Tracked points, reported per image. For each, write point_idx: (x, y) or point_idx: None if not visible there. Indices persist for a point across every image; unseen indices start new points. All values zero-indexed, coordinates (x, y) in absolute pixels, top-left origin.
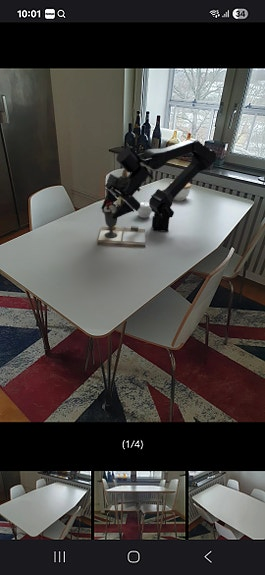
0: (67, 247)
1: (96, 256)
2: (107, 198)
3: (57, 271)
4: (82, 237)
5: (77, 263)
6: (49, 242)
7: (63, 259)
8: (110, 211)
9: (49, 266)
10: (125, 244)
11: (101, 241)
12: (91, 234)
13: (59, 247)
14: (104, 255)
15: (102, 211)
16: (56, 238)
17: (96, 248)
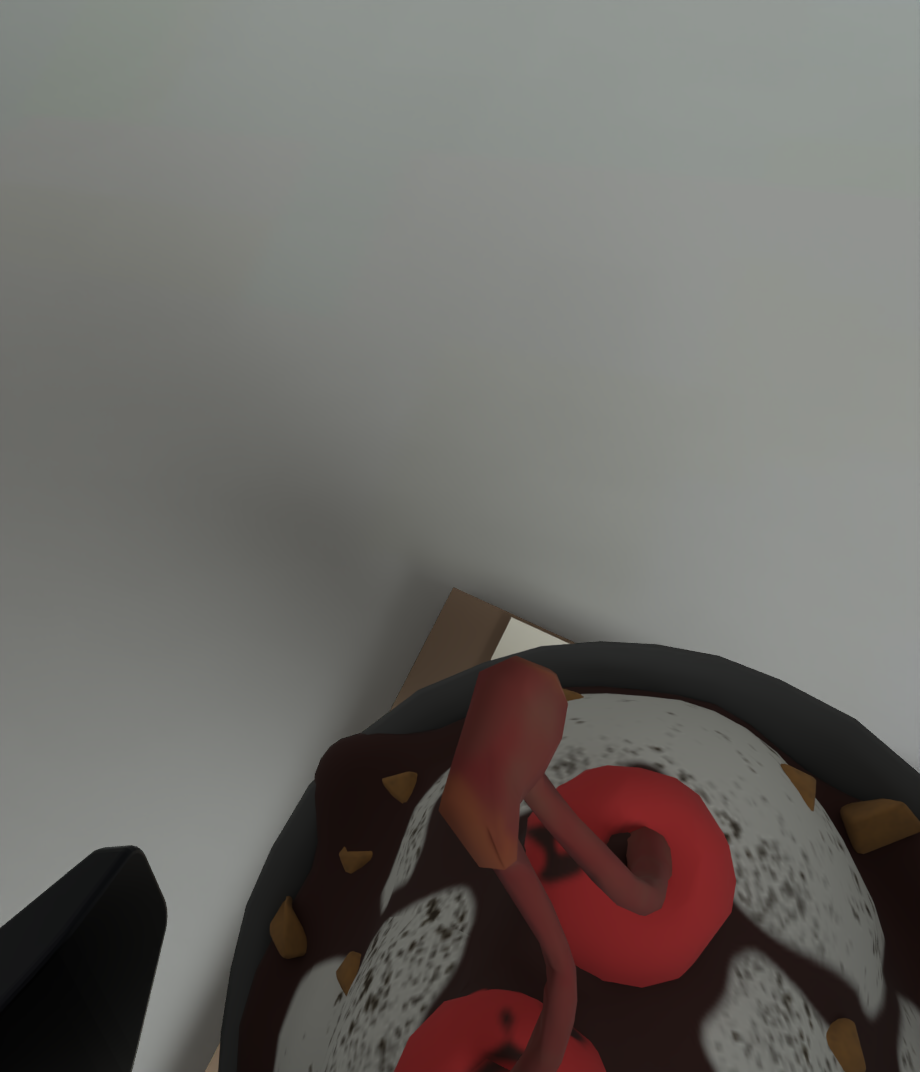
0: (516, 195)
1: (139, 484)
2: (472, 840)
3: (56, 61)
4: (785, 438)
5: (98, 246)
6: (732, 15)
7: (245, 127)
8: (369, 912)
9: (175, 4)
10: (215, 1064)
11: (448, 659)
12: (877, 614)
13: (549, 111)
14: (114, 593)
15: (655, 647)
16: (841, 95)
17: (344, 547)
